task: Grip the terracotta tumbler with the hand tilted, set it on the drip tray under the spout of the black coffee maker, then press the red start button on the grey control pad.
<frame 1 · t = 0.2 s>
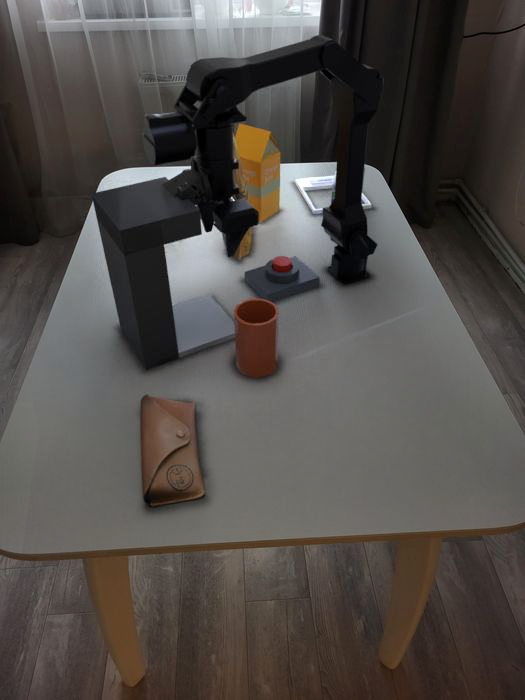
hand: (219, 243, 95), 15 cm above the table, tool pointing down, fingers open, 9 cm apart
orange juice: (255, 212, 135), on the table
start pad: (281, 283, 112), on the table
light bulb box: (344, 219, 132), on the table, touching photo frame
start button: (282, 264, 109), point 4 cm above the table, slide at 0.1 cm
photo frame: (331, 195, 141), on the table, touching light bulb box
sunglasses case: (172, 450, 80), on the table
coffee maker: (180, 331, 100), on the table
tumbler: (256, 363, 94), on the table
pancake mix bag: (237, 242, 124), on the table
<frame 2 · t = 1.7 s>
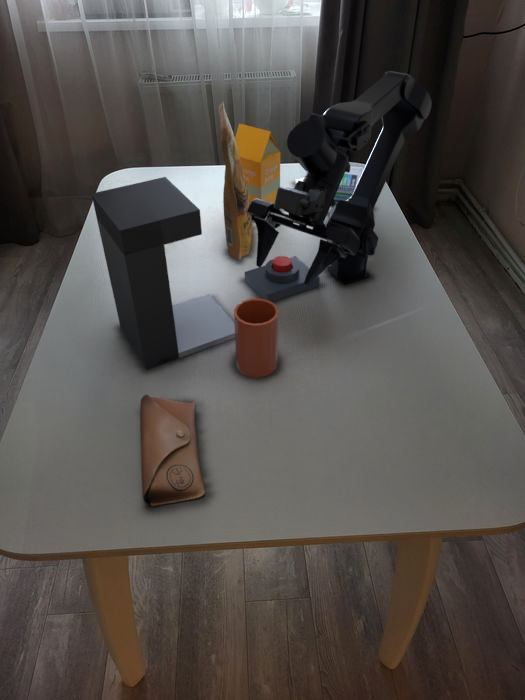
hand: (281, 275, 90), 13 cm above the table, tool tilted 45°, fingers open, 9 cm apart
nothing on the table moved.
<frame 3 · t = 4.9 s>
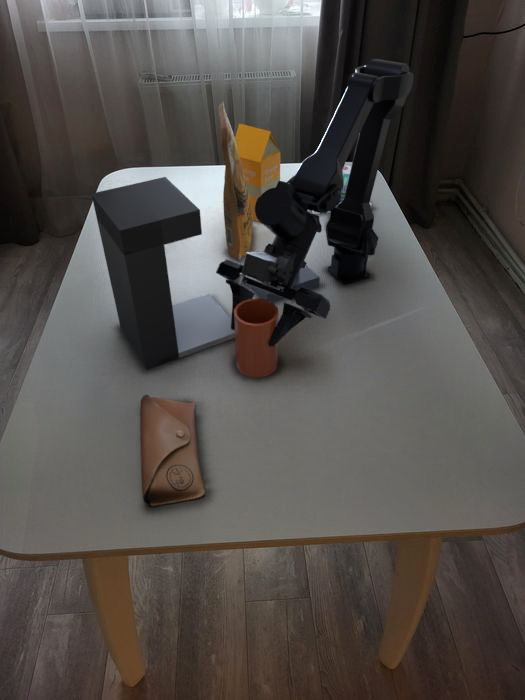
hand: (251, 337, 88), 7 cm above the table, tool tilted 45°, fingers closed on tumbler, 7 cm apart
tumbler: (256, 363, 94), on the table, touching gripper
everything else where it was.
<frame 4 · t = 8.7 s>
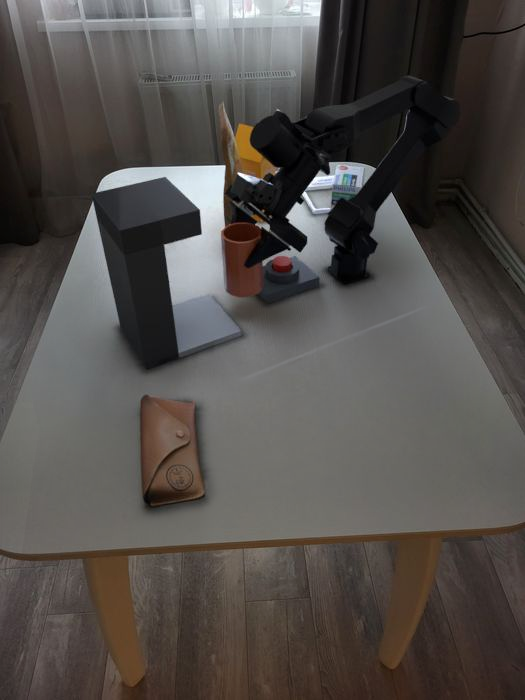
hand: (235, 257, 96), 12 cm above the table, tool tilted 45°, fingers closed on tumbler, 7 cm apart
tumbler: (243, 286, 101), point 6 cm above the table, touching gripper
everything else where it was.
when the fingers open (8 cm above the table, at t = 12.6 s): tumbler stays where it is, resting on coffee maker.
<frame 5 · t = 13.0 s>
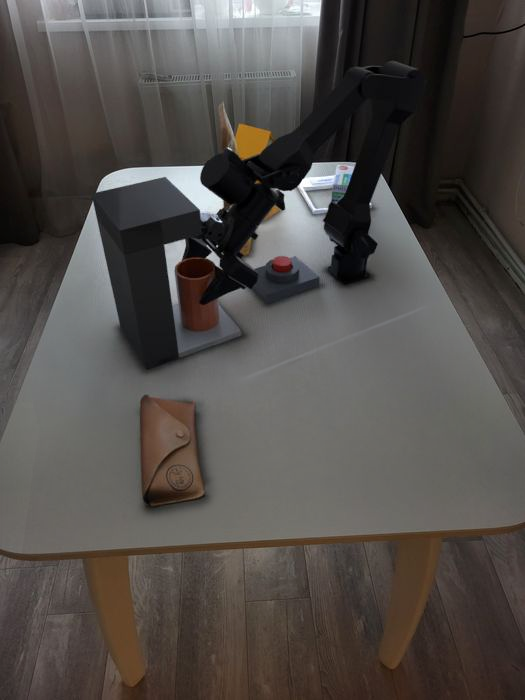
hand: (189, 290, 96), 8 cm above the table, tool tilted 45°, fingers open, 9 cm apart
tumbler: (200, 319, 101), point 1 cm above the table, touching coffee maker
everything else where it was.
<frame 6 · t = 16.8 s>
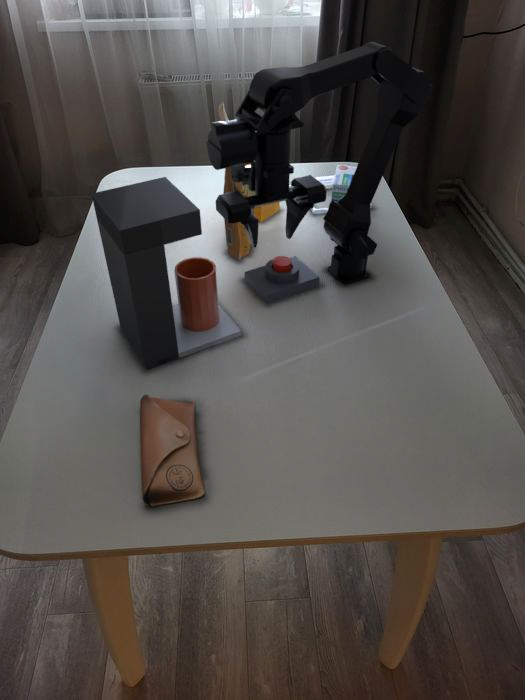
hand: (271, 242, 100), 12 cm above the table, tool pointing down, fingers open, 7 cm apart
nothing on the table moved.
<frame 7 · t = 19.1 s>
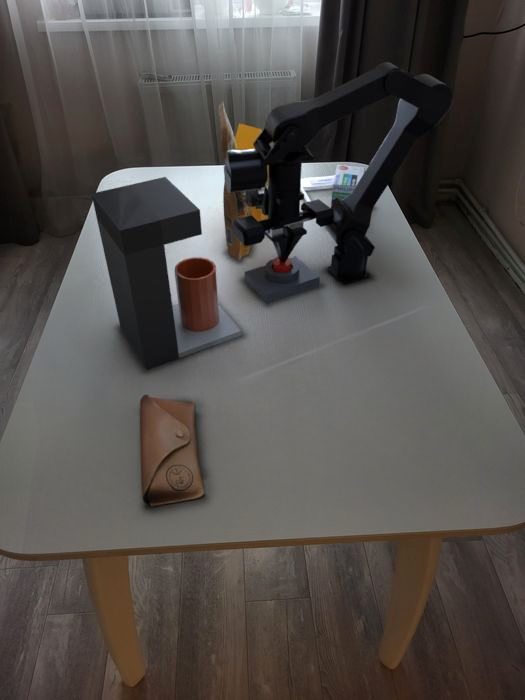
hand: (282, 261, 108), 5 cm above the table, tool pointing down, fingers closed, pressing on start button
start button: (282, 265, 109), point 4 cm above the table, slide at 0.0 cm, touching gripper
everything else where it was.
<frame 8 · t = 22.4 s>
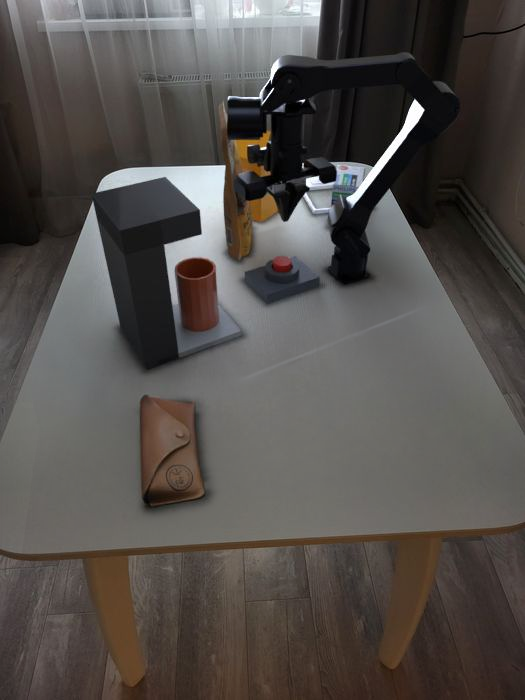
hand: (284, 220, 106), 12 cm above the table, tool pointing down, fingers closed
start button: (282, 264, 109), point 4 cm above the table, slide at 0.1 cm
everything else where it was.
at the end: tumbler 0.2 cm from the target spot on the coffee maker, point 1.2 cm above the coffee maker's base; tumbler tilted 0°; start button pushed in 1.2 cm at the most during the clip, back to where it started at the end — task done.
